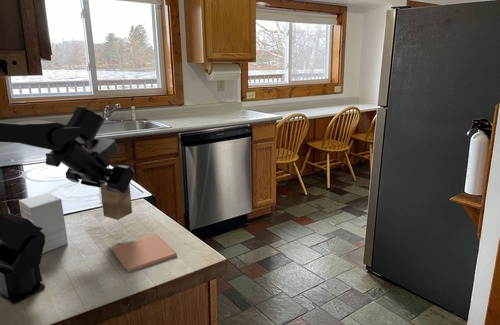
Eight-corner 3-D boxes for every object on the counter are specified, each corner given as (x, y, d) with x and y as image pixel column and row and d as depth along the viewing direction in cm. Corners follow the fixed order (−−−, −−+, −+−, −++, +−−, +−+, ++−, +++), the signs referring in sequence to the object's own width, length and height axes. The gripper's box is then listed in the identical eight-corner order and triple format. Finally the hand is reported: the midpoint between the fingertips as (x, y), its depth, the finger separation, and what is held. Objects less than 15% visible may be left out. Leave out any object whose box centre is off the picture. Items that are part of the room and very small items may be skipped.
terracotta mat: (128, 272, 83) (127, 269, 82) (111, 250, 92) (111, 247, 92) (176, 255, 90) (176, 252, 89) (156, 236, 99) (156, 234, 99)
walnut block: (117, 219, 94) (114, 186, 92) (103, 216, 96) (100, 183, 94) (132, 212, 98) (129, 181, 96) (118, 209, 101) (115, 178, 98)
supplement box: (55, 235, 99) (48, 191, 96) (68, 244, 95) (62, 198, 91) (26, 245, 94) (17, 199, 90) (38, 255, 89) (30, 207, 86)
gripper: (125, 134, 83) (160, 167, 96) (69, 126, 92) (109, 158, 104) (101, 176, 79) (141, 206, 91) (45, 164, 87) (89, 193, 100)
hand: (119, 189), depth 97 cm, fingers closed on walnut block, 5 cm apart
